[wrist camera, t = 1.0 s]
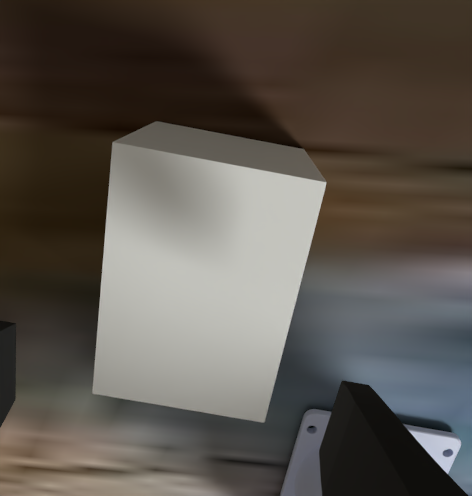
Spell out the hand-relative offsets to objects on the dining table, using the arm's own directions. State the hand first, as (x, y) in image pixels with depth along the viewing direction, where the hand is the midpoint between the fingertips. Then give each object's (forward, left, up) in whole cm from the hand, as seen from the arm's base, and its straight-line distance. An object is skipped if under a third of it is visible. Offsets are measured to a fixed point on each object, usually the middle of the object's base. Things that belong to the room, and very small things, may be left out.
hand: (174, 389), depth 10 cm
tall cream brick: (0, 0, -10) cm, 10 cm away
